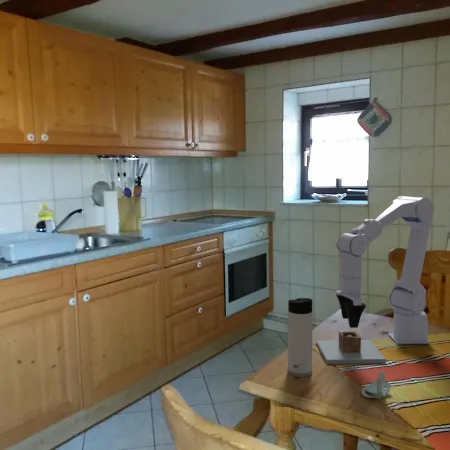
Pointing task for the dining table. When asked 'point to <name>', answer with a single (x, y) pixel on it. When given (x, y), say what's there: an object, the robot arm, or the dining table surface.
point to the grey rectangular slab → (336, 356)
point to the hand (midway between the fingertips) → (349, 322)
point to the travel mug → (300, 337)
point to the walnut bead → (349, 342)
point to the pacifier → (377, 387)
